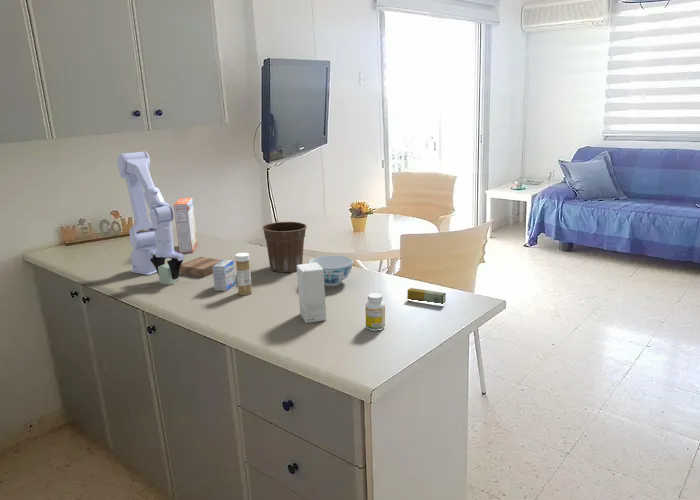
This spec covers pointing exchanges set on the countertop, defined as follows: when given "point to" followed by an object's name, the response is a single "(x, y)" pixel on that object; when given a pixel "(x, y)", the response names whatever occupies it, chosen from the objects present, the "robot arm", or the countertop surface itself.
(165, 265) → the sage block
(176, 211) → the cracker box
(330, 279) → the chinaware
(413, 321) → the countertop surface
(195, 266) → the walnut block
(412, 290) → the medication box
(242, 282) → the sprinkles bottle
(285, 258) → the plant pot
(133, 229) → the robot arm
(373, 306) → the supplement bottle
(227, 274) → the medicine box
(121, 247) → the countertop surface
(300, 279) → the skincare box
